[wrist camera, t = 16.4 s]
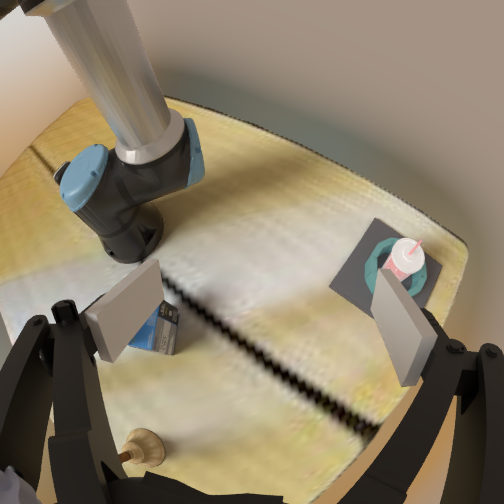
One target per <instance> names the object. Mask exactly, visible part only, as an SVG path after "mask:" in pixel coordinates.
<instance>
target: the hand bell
mask: <svg viewBox="0 0 504 504" xmlns="http://www.w3.org/2000/svg"><path fill="white" fill-rule="evenodd" d="M118 456H119V459H120V462H121V464H122V463H123V462H126V461H129V462H130V463H133V464H141V465H143V466H147V467H155V466H158V465H159V464H161V463H162V461H163V460H164V457H165V448H164V445H163V443H162V441H161V440H160V439H159V437H158V436H157V435H155V434H154V433H153V432H151V431H149V430H146V429H135V430H133V431H131V432H130V433H129V435H128V437H127V440H126V443H125V444H124V445H123V447H122V453H121V454H119V455H118Z"/></svg>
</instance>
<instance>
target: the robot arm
mask: <svg viewBox="0 0 504 504" xmlns="http://www.w3.org/2000/svg"><path fill="white" fill-rule="evenodd" d="M19 5H20V6H21V8H22V10H23V12H24V14H25V15H26V16H41V17H44V19H45V20H46V22H47V24H48V26H49V28H50V30H51V31H52V33H53V35H54V37H55V39H56V40H57V42H58V44H59V46H60V47H61V49H62V51H63V52H64V54H65V56H66V58H67V59H68V61H69V63H70V64H71V66H72V68H73V69H74V71H75V73H76V74H77V76H78V77H79V79H80V81H81V82H82V84H83V86H84V87H85V89H86V91H87V92H88V94H89V95H90V97H91V98H92V100H93V102H94V103H95V105H96V106H97V108H98V109H99V111H100V112H101V114H102V116H103V117H104V119H105V120H106V122H107V123H108V125H109V126H110V128H111V129H112V131H113V132H114V134H115V135H116V137H117V139H116V143H115V148H113V149H111V150H109V151H108V148H107V147H105V146H104V145H102V144H94V145H91V146H89V147H87V148H86V149H84V150H83V151H82V152H80V153H79V154H78V155H77V156H76V157H75V158H74V159H73V161H72V162H71V163H70V165H69V166H68V167H67V169H66V171H65V173H64V175H63V177H62V180H61V183H60V195H61V198H62V199H63V201H64V202H65V203H66V204H67V206H68V207H69V209H70V210H71V211H72V212H74V213H75V214H76V215H77V216H78V217H79V218H80V219H81V220H82V221H83V222H85V223H86V224H87V225H88V226H89V227H90V228H91V229H92V230H93V231H94V232H95V233H97V234H98V236H99V238H100V241H101V243H102V245H103V247H104V249H105V251H106V253H107V254H108V255H109V256H110V257H112V258H113V259H114V260H115V261H117V262H119V263H124V264H130V263H134V262H137V261H140V260H142V259H143V258H145V257H146V256H148V255H149V254H150V253H151V252H152V251H153V250H154V249H155V247H156V246H157V244H158V243H159V241H160V239H161V236H162V233H163V219H162V216H161V214H160V213H159V211H158V210H157V208H156V207H155V206H154V205H153V204H152V203H150V202H149V201H151V200H154V199H157V198H159V197H162V196H165V195H168V194H170V193H173V192H176V191H179V190H182V189H186V188H188V187H189V186H190V185H193V184H195V183H198V182H200V181H201V180H202V179H203V177H204V174H205V167H204V160H203V155H202V151H201V146H200V141H199V137H198V133H197V129H196V126H195V123H194V121H193V119H191V118H183V117H182V116H181V114H180V113H179V112H177V111H176V110H173V109H170V108H168V107H167V104H166V102H165V99H164V97H163V94H162V92H161V89H160V87H159V84H158V82H157V79H156V77H155V74H154V71H153V69H152V66H151V64H150V61H149V59H148V56H147V53H146V51H145V48H144V46H143V43H142V41H141V38H140V35H139V33H138V30H137V27H136V25H135V22H134V19H133V17H132V14H131V11H130V9H129V6H128V3H127V0H0V20H1V19H2V18H4V17H5V16H6V15H7V14H8V13H10V12H11V11H12V10H14V9H15V8H16V7H17V6H19ZM163 300H164V293H163V287H162V280H161V274H160V267H159V260H158V259H147V260H146V261H145V262H144V263H142V264H141V265H140V266H139V267H137V268H136V269H135V270H134V271H132V272H131V273H130V274H129V275H128V276H126V277H125V278H124V279H123V280H121V281H120V282H119V283H118V284H117V285H115V286H114V287H113V288H112V289H111V290H110V291H108V292H107V293H105V294H103V295H101V296H100V297H98V298H97V299H96V300H95V301H94V302H92V303H91V305H89V306H88V307H87V308H86V309H84V310H83V311H82V312H81V313H80V314H78V311H77V308H76V305H75V302H74V301H73V300H62V301H59V302H57V303H55V304H54V305H53V306H52V308H51V310H52V313H53V316H54V319H55V321H56V324H49V322H48V320H47V317H46V316H45V315H35V316H33V317H32V318H31V319H29V320H28V321H27V323H26V324H25V326H24V328H23V330H22V331H21V333H20V335H19V336H18V338H17V340H16V342H15V344H14V345H13V347H12V349H11V351H10V353H9V355H8V357H7V359H6V361H5V363H4V365H3V367H2V369H1V371H0V504H42V503H41V502H40V500H39V499H37V496H36V491H37V487H38V483H39V479H40V472H41V463H42V456H43V449H44V442H45V436H46V431H47V425H48V420H49V416H50V411H51V407H52V402H53V411H54V426H55V436H52V437H49V439H48V449H49V458H50V465H51V472H52V477H53V483H54V488H55V493H56V497H57V501H58V503H55V504H288V503H284V502H283V496H274V495H260V494H249V493H245V494H231V495H208V494H205V493H203V492H200V491H198V490H196V489H194V488H192V487H190V486H188V485H186V484H184V483H182V482H180V481H178V480H175V479H171V478H168V477H164V476H161V475H157V474H154V473H151V472H148V471H146V473H145V475H144V477H129V478H128V476H127V475H126V473H125V471H124V469H123V467H122V464H121V462H120V459H119V456H118V453H117V450H116V446H115V443H114V440H113V437H112V433H111V430H110V426H109V422H108V418H107V414H106V410H105V406H104V402H103V397H102V392H101V387H100V382H99V377H98V371H97V365H96V360H95V357H94V354H95V353H96V351H98V353H99V356H100V358H101V360H104V361H107V362H111V363H113V362H114V361H115V360H116V359H117V357H118V356H119V355H120V353H121V352H122V351H123V350H124V348H125V347H126V346H127V345H128V343H129V342H130V341H131V339H132V338H133V337H134V336H135V334H136V333H137V332H138V331H139V329H140V328H141V327H142V326H143V324H144V323H145V322H146V321H147V319H148V318H149V317H150V316H151V315H152V313H153V312H154V311H155V310H156V308H157V307H158V306H159V305H160V304H161V302H162V301H163ZM370 310H371V312H372V314H373V317H374V319H375V321H376V323H377V326H378V328H379V331H380V333H381V335H382V338H383V340H384V343H385V345H386V348H387V350H388V353H389V355H390V358H391V360H392V363H393V366H394V368H395V371H396V374H397V376H398V379H399V382H400V385H401V387H406V386H414V385H416V384H417V382H418V380H419V378H420V376H421V377H422V379H423V381H424V382H423V384H422V386H421V388H420V390H419V392H418V393H417V395H416V397H415V399H414V401H413V403H412V404H411V406H410V408H409V409H408V411H407V413H406V414H405V416H404V418H403V419H402V421H401V423H400V424H399V426H398V427H397V429H396V430H395V432H394V433H393V435H392V436H391V438H390V439H389V441H388V442H387V444H386V445H385V446H384V448H383V449H382V451H381V452H380V453H379V455H378V456H377V457H376V459H375V460H374V462H373V463H372V464H371V465H370V466H369V468H368V469H367V470H366V471H365V473H364V474H363V475H362V476H361V477H360V479H359V480H358V481H357V482H356V483H355V485H354V486H353V487H352V488H351V489H350V490H349V491H348V492H347V494H346V495H345V496H344V497H343V498H342V499H341V500H340V501H339V502H338V503H337V504H403V503H404V501H405V499H406V497H407V494H406V492H407V490H408V488H409V487H410V485H411V483H412V482H413V480H414V478H415V477H416V475H417V474H418V472H419V470H420V468H421V467H422V465H423V463H424V461H425V459H426V457H427V456H428V454H429V452H430V450H431V448H432V446H433V444H434V442H435V440H436V437H437V435H438V433H439V431H440V429H441V426H442V424H443V422H444V419H445V417H446V415H447V412H448V409H449V407H450V404H451V402H452V399H453V396H454V395H456V396H457V407H456V420H455V430H454V439H453V445H452V452H451V458H450V463H449V468H448V473H447V478H446V482H445V486H444V490H443V494H442V498H441V501H440V504H504V355H503V353H502V350H500V348H499V347H498V346H496V345H494V344H491V343H486V344H483V345H482V346H481V348H480V350H479V352H471V351H467V349H466V347H465V345H463V344H462V343H461V342H460V341H458V340H455V339H449V337H448V336H447V335H446V333H445V332H444V330H443V329H442V327H441V326H440V325H439V323H438V322H437V320H436V319H435V317H434V316H433V315H432V313H430V312H429V311H428V310H426V309H425V308H419V307H418V306H417V304H416V303H415V301H414V300H413V299H412V297H411V296H410V295H409V293H408V292H407V290H406V289H405V288H404V286H403V285H402V284H401V282H400V281H399V280H398V278H397V277H396V276H395V274H394V273H393V272H392V271H391V269H382V268H378V273H377V279H376V285H375V290H374V295H373V300H372V305H371V309H370ZM40 357H41V358H40Z"/></svg>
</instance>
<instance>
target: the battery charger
mask: <svg viewBox="0 0 504 504" xmlns="http://www.w3.org/2000/svg"><path fill="white" fill-rule="evenodd" d="M70 163H71V162H70V161H66V162H65V163H63V164H62V165H61V167H60V168H59V169H58V170H57V171H56V172H55V174H54V180H55V182H56V183H57V184H58V185H59V186H60V183H61V180H62V177H63V175H64V173H65V171H66V169H67V167H68V166H69V165H70Z"/></svg>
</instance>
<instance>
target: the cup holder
mask: <svg viewBox="0 0 504 504" xmlns="http://www.w3.org/2000/svg"><path fill="white" fill-rule="evenodd" d="M402 238H404V237H403V236H401V235H400V234H399V233H397V232H396V231H394V230H393V229H391V228H390V227H388V226H387V225H385V224H384V223H382V222H381V221H379V220H378V219H376V218H374V220H373V222H372V223H371V225H370V226H369V228H368V229H367V231H366V232H365V234H364V236H363V237H362V239H361V240H360V242H359V243H358V245H357V246H356V248H355V249H354V251H353V252H352V254H351V255H350V257H349V258H348V259H347V261H346V262H345V264H344V265H343V267H342V268H341V270H340V271H339V272H338V274H337V275H336V277H335V278H334V279H333V281H332V282H331V284H330V285H329V287H330V288H331V289H333V290H334V291H335V292H337V293H338V294H340V295H341V296H342V297H344V298H345V299H347V300H348V301H349V302H351V303H352V304H354V305H355V306H356V307H358V308H359V309H361V310H362V311H363V312H365V313H366V314H368V315H369V316H370V317H372V318H373V319H374V317H373V314H372V312H371V310H370V309H371V305H372V300H373V295H374V290H375V285H376V279H377V273H378V268H382V266H383V265H384V263H385V262H386V260H387V258H388V257H389V255H390V254H391V252H392V248H393V246H394V244H395V243H396V242H397V241H398V240H400V239H402ZM424 256H425V260H424V265H423V266H422V268H421V269H420V270H419V271H417V272H415V273H414V274H411V275H410V276H408V277H407V278H406V279H404V280H403V281H401V284H402V285H403V286H404V288H405V289H406V290H407V292H408V293H409V295H410V296H411V297H412V299H413V300H414V301H415V303H416V304H417V306H418V307H419V308H424V306H425V304H426V302H427V300H428V297H429V295H430V293H431V291H432V289H433V286H434V284H435V282H436V280H437V277H438V275H439V272H440V270H441V267H442V265H441V264H440V263H438V262H437V261H436V260H434V259H433V258H432V257H430V256H429V255H428V254H426V253H425V252H424Z"/></svg>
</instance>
